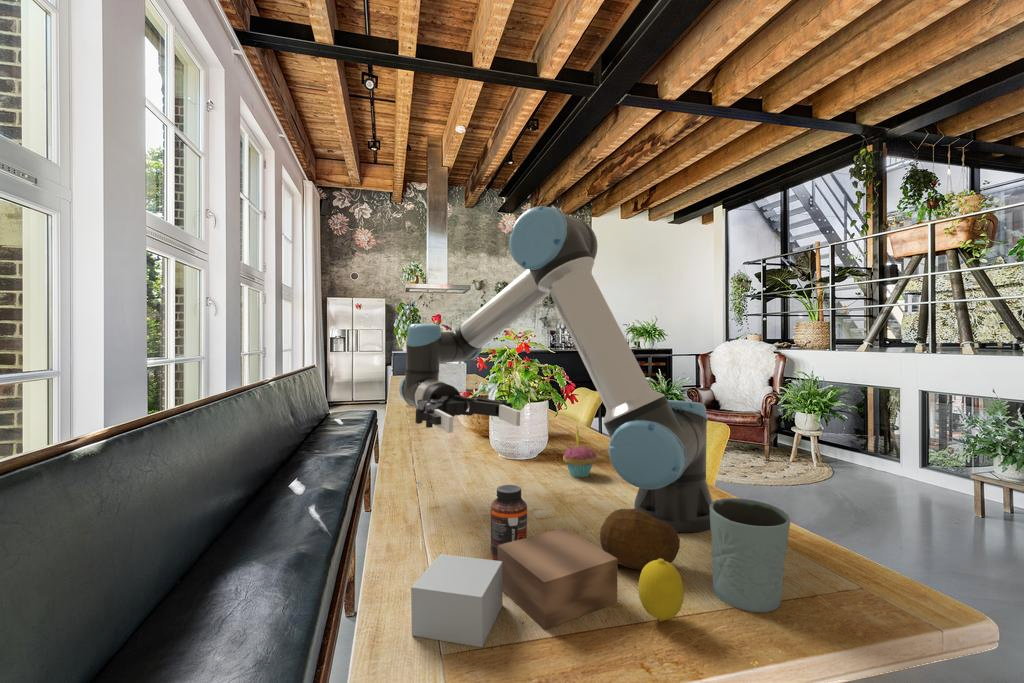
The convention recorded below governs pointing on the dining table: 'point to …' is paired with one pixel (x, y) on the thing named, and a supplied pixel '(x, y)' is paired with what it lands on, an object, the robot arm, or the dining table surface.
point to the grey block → (457, 599)
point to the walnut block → (557, 576)
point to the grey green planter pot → (748, 553)
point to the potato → (638, 538)
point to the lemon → (661, 589)
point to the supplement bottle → (507, 517)
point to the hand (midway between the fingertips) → (486, 421)
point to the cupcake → (579, 459)
